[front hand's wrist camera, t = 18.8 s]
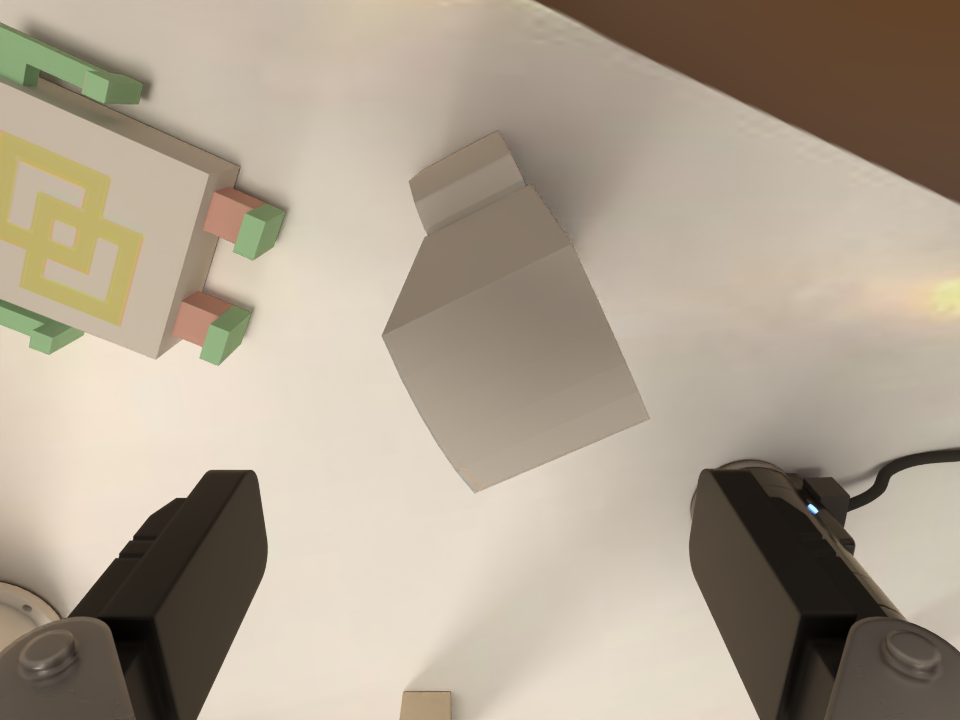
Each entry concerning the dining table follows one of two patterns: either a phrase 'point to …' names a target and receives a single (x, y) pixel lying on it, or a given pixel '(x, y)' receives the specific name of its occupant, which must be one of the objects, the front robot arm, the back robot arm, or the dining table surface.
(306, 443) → the dining table surface
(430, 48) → the dining table surface
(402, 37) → the dining table surface
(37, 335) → the decorative block
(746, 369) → the dining table surface
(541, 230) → the electronic device
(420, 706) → the brick
